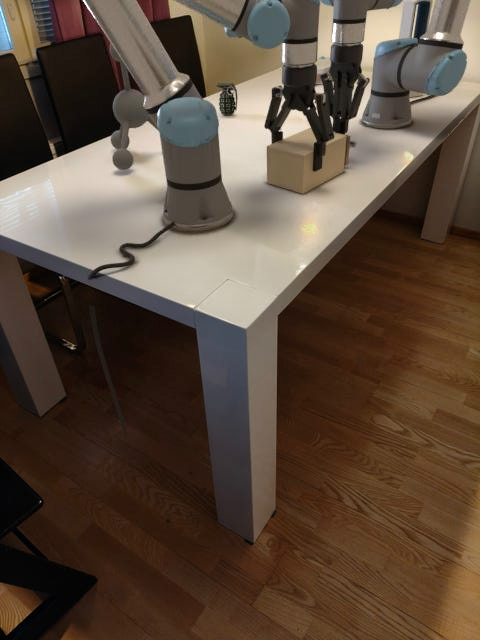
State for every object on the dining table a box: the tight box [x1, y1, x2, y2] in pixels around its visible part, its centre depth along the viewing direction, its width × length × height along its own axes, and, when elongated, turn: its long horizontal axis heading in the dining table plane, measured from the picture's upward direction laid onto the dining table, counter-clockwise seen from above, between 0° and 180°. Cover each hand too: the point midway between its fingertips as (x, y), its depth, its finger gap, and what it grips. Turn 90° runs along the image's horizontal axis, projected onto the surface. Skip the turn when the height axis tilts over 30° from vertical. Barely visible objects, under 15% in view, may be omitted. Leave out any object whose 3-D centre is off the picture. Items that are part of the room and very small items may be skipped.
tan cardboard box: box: [266, 127, 348, 195], centre depth 120 cm, size 17×11×9 cm, turn 137°
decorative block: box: [314, 56, 333, 85], centre depth 205 cm, size 26×6×20 cm
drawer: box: [334, 132, 358, 167], centre depth 123 cm, size 22×10×7 cm, turn 137°
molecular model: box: [109, 43, 158, 171], centre depth 131 cm, size 24×22×30 cm
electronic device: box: [398, 0, 433, 98], centre depth 170 cm, size 12×8×30 cm, turn 105°
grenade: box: [215, 82, 238, 117], centre depth 166 cm, size 7×6×10 cm
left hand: (297, 164), depth 118 cm, fingers closed on tan cardboard box, 11 cm apart
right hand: (338, 145), depth 128 cm, fingers closed
